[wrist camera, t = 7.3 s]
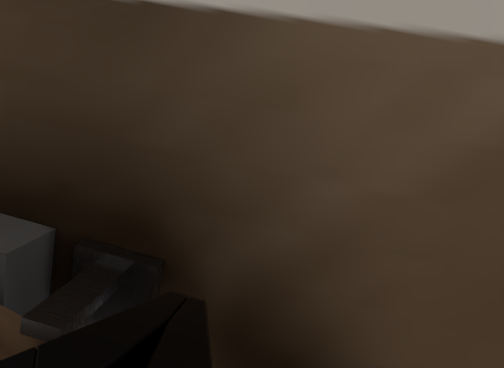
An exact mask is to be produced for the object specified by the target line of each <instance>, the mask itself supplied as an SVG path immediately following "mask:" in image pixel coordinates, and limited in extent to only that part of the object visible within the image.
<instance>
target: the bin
mask: <svg viewBox="0 0 504 368" xmlns="http://www.w3.org/2000/svg"><path fill="white" fill-rule="evenodd" d="M55 233H56V229H55V228H52V227H48V226H45V225H41V224H38V223H34V222H30V221H27V220H23V219H20V218H16V217H13V216H9V215H5V214H2V213H0V305H2V306H4V307H6V308H8V309H10V310H11V311H13V312H15V313H17V314H19V315H21V316H24V315H25V314H26V313H28V312H29V311H30V310H32V309H33V308H34V307H36V306H37V305H38V304H40V303H41V302H42V301H44V300H45V299H46V298H48V297H49V296H50V288H51V277H52V266H53V255H54V244H55Z"/></svg>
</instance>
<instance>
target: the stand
mask: <svg viewBox="0 0 504 368" xmlns="http://www.w3.org/2000/svg"><path fill="white" fill-rule="evenodd" d="M163 264H164V260H160V259H157V258H153V257H150V256H146V255H142V254H139V253H135V252H132V251H128V250H125V249H121V248H118V247H114V246H110V245H107V244H103V243H100V242H96V241H93V240H89V239H83V240H81V241H80V242H78V243H76V244H75V246H74V256H73V265H72V275H71V280H70V281H69V282H68V283H66V284H65V285H64V286H62V287H61V288H60V289H58V290H57V291H56V292H54V293H53V294H52V295H50V296H49V297H48V298H46V299H45V300H44V301H42V302H41V303H40V304H38V305H37V306H36V307H34V308H33V309H32V310H30V311H29V312H28V313H26V314H25V315H24V316H22V317H21V328H20V334H23V335H26V336H29V337H32V338H36V339H39V340H42V341H45V342H47V341H50V340H52V339H55V338H57V337H60V336H62V335H65V334H67V333H69V332H72V331H74V330H77V329H79V328H82V327H84V326H87V325H89V324H92V323H94V322H96V321H99V320H101V319H104V318H106V317H109V316H111V315H114V314H116V313H119V312H121V311H123V310H126V309H128V308H131V307H133V306H136V305H138V304H141V303H143V302H146V301H148V300H150V299H153V298H155V297H158V293H159V287H160V281H161V275H162V270H163Z"/></svg>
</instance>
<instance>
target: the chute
mask: <svg viewBox="0 0 504 368" xmlns="http://www.w3.org/2000/svg"><path fill="white" fill-rule="evenodd" d="M21 317H22V316H21V315H19V314H17V313H15V312H13V311H11V310H10V309H8V308H6V307H4V306H2V305H0V360H2V359H5V358H7V357H10V356H12V355H15V354H17V353H20V352H22V351H25V350H27V349H30V348H32V347H36V350H37V346H38V345H40V344H42V343H45V341H42V340H39V339H36V338H32V337H29V336H26V335H23V334H20V328H21Z"/></svg>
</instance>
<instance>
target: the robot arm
mask: <svg viewBox="0 0 504 368" xmlns="http://www.w3.org/2000/svg"><path fill="white" fill-rule="evenodd" d="M0 368H212V359H211V349H210V338H209V328H208V317H207V307H206V302H205V301H204V300H201V299H197V298H194V297H189V298H187V296H186V295H183V294H180V293H176V292H173V291H171V292H168V293H165V294H163V295H160V296H158V297H155V298H153V299H150V300H148V301H146V302H143V303H141V304H138V305H136V306H133V307H131V308H128V309H126V310H123V311H121V312H119V313H116V314H114V315H111V316H109V317H106V318H104V319H101V320H99V321H96V322H94V323H92V324H89V325H87V326H84V327H82V328H79V329H77V330H74V331H72V332H69V333H67V334H65V335H62V336H60V337H57V338H55V339H52V340H50V341H47V342H45V343H42V344H40V345H38V346H37V350H36V347H32V348H30V349H27V350H25V351H22V352H20V353H17V354H15V355H12V356H10V357H7V358H5V359H2V360H0Z"/></svg>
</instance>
